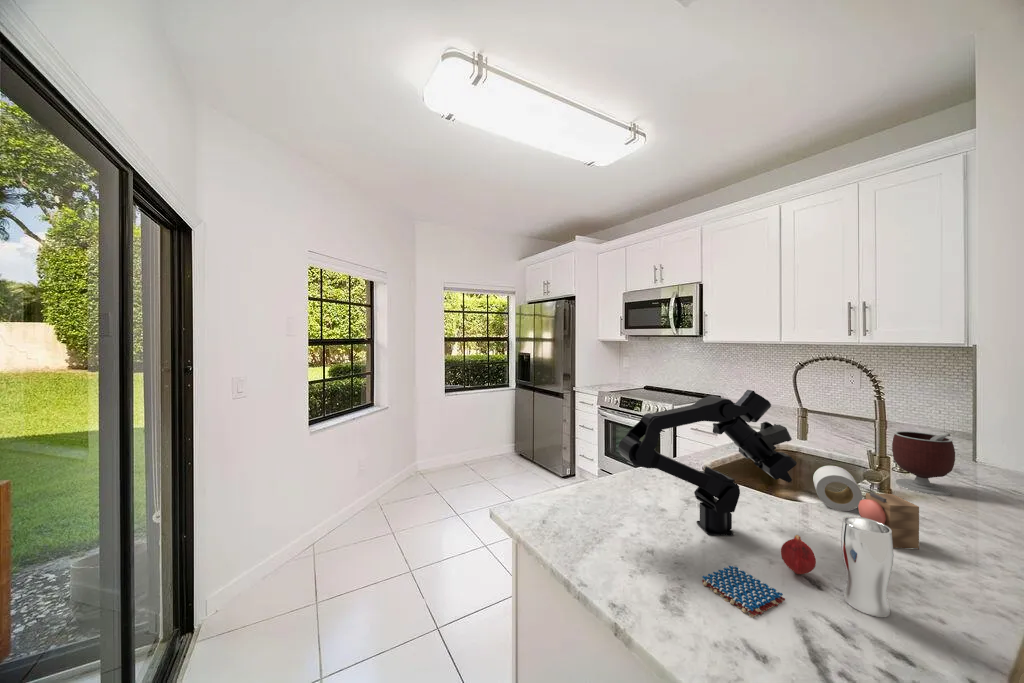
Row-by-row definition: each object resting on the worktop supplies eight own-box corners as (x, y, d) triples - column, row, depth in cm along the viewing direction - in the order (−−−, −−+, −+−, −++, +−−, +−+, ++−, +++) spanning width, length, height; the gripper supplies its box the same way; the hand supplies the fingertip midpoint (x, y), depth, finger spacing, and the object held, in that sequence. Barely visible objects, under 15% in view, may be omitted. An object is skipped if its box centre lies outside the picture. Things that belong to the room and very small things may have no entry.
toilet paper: (813, 494, 117) (813, 462, 117) (855, 502, 111) (855, 469, 111) (816, 505, 109) (816, 472, 109) (862, 515, 103) (862, 479, 103)
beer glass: (831, 593, 71) (831, 516, 71) (864, 591, 72) (864, 514, 72) (868, 621, 64) (869, 535, 64) (905, 618, 65) (905, 533, 65)
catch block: (889, 547, 87) (889, 501, 87) (864, 532, 94) (864, 489, 94) (919, 549, 86) (919, 503, 86) (892, 533, 93) (892, 491, 93)
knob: (878, 531, 88) (878, 505, 88) (858, 518, 93) (858, 495, 93) (914, 533, 87) (914, 507, 86) (892, 520, 92) (892, 496, 92)
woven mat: (753, 622, 65) (753, 611, 65) (699, 586, 74) (699, 576, 74) (788, 604, 69) (788, 594, 69) (733, 572, 79) (733, 562, 79)
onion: (822, 584, 74) (822, 545, 74) (790, 581, 75) (790, 542, 75) (805, 567, 79) (805, 530, 79) (775, 564, 81) (775, 527, 80)
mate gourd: (880, 478, 129) (880, 422, 129) (925, 480, 128) (925, 423, 127) (923, 497, 114) (923, 433, 114) (975, 500, 112) (975, 434, 112)
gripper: (787, 422, 85) (841, 473, 83) (751, 407, 104) (795, 449, 102) (749, 453, 87) (801, 504, 85) (720, 433, 105) (762, 475, 103)
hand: (790, 480), depth 94 cm, fingers closed
